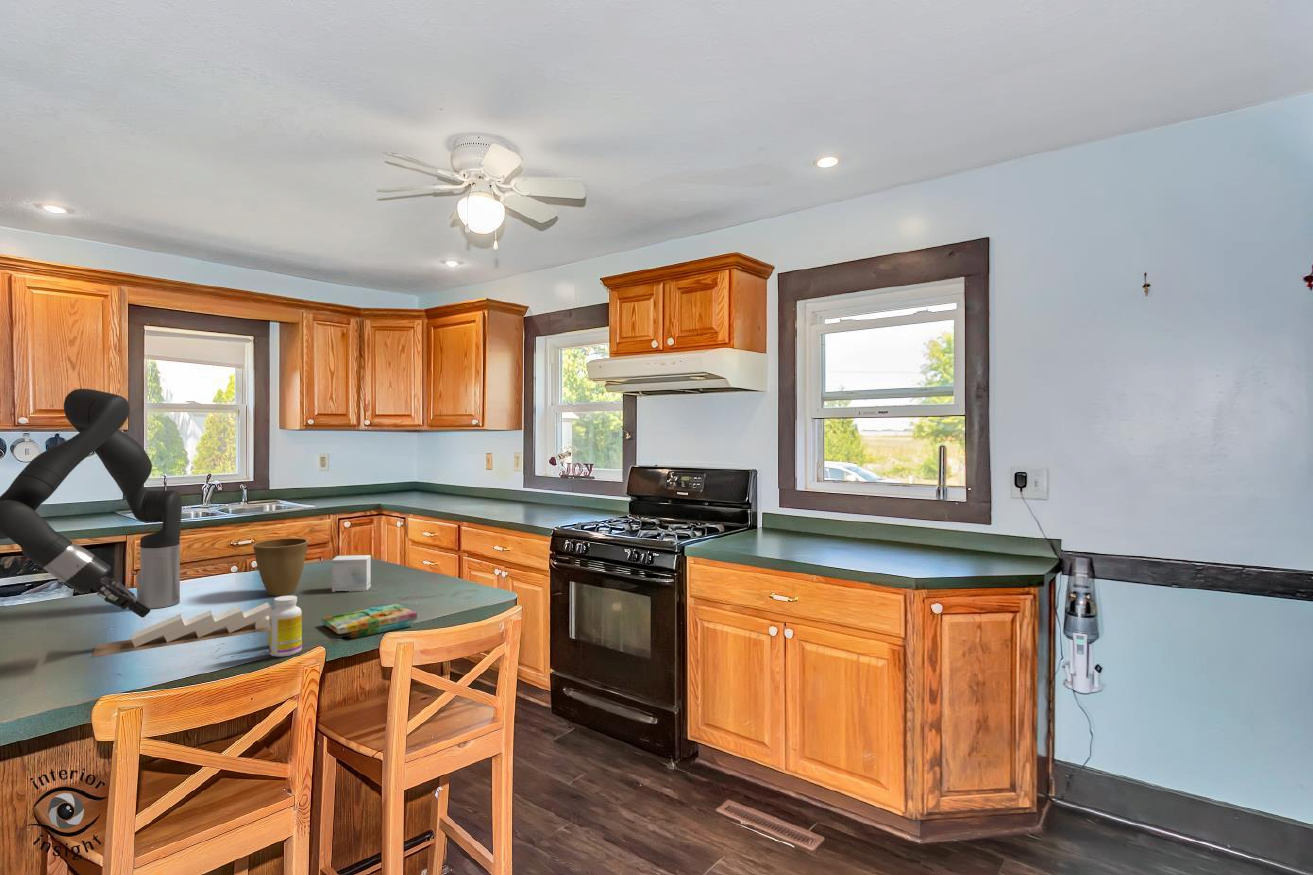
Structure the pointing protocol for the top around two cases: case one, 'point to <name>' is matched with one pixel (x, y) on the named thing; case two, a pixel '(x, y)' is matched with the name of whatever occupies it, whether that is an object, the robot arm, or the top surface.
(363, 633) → the puzzle game
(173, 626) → the domino
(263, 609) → the domino
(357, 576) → the skincare box
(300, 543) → the plant pot
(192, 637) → the domino board
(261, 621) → the domino
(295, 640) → the supplement bottle
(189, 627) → the domino
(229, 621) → the domino
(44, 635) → the top surface
